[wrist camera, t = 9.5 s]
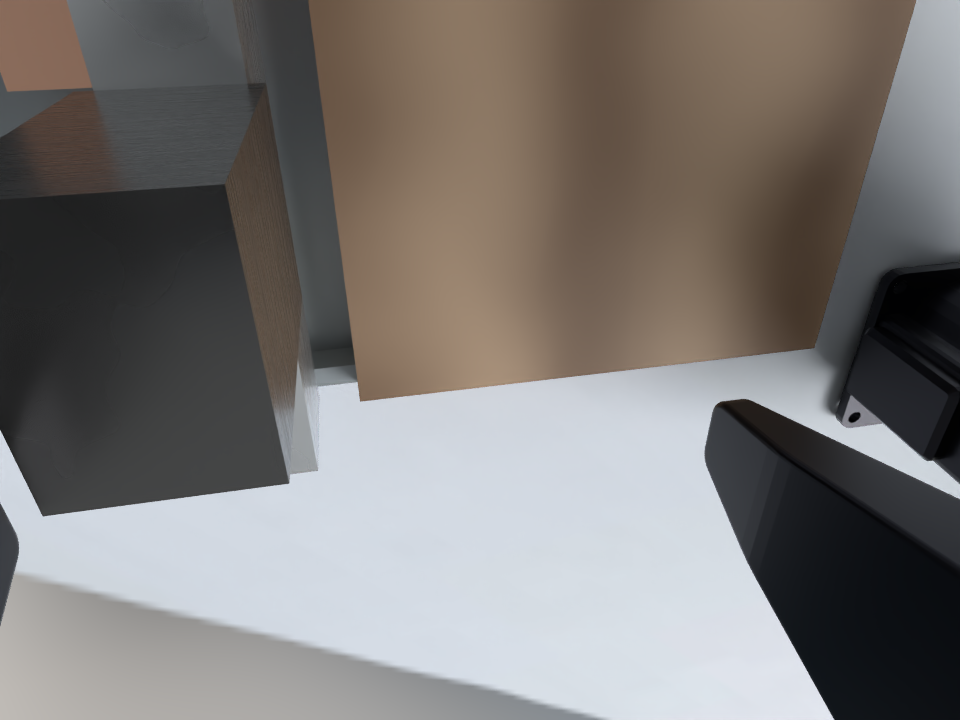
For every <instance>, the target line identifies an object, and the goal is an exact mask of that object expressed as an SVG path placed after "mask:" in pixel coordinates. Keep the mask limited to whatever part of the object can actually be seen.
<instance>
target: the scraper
mask: <svg viewBox="0 0 960 720" xmlns="http://www.w3.org/2000/svg"><path fill="white" fill-rule="evenodd" d="M67 4H68V7H69V11H70V14H71V17H72V21H73V24H74V27H75V31H76V34H77V37H78V41H79V44H80V47H81V51H82V54H83V57H84V61H85V64H86V68H87V71H88V74H89V78H90V81H91V84H92V88H93V91H77V92H72V93H71V94H69V95H67V96H66V97H64V98H63V99H61V100H59V101H58V102H56V103H55V104H53V105H51V106H50V107H48V108H47V109H45V110H44V111H42V112H40V113H39V114H37V115H36V116H34V117H32V118H31V119H29V120H28V121H26V122H25V123H23V124H21V125H20V126H18V127H17V128H15V129H13V130H12V131H10V132H9V133H7V134H5V135H4V136H2V137H1V138H0V430H1V432H2V434H3V436H4V438H5V440H6V442H7V444H8V446H9V448H10V450H11V453H12V455H13V457H14V459H15V461H16V463H17V465H18V467H19V469H20V471H21V473H22V475H23V477H24V479H25V481H26V483H27V485H28V487H29V489H30V491H31V493H32V495H33V497H34V499H35V501H36V503H37V505H38V508H39V510H40V512H41V514H42V516H49V515H56V514H64V513H71V512H79V511H86V510H94V509H101V508H109V507H116V506H124V505H131V504H139V503H146V502H154V501H161V500H169V499H176V498H184V497H191V496H199V495H206V494H214V493H221V492H229V491H236V490H244V489H251V488H259V487H266V486H274V485H281V484H289V480H290V474H296V473H304V472H311V471H318V447H319V393H318V387H317V381H316V375H315V369H314V363H313V357H312V351H311V345H310V339H309V333H308V327H307V321H306V315H305V310H304V304H303V298H302V292H301V286H300V280H299V274H298V268H297V262H296V256H295V250H294V244H293V238H292V232H291V227H290V221H289V215H288V209H287V203H286V197H285V191H284V185H283V179H282V173H281V167H280V161H279V155H278V150H277V144H276V138H275V132H274V126H273V120H272V114H271V108H270V102H269V96H268V90H267V84H266V78H265V72H264V67H263V61H262V55H261V49H260V43H259V37H258V31H257V25H256V19H255V13H254V7H253V1H252V0H67Z"/></svg>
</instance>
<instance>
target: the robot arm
mask: <svg viewBox="0 0 960 720" xmlns="http://www.w3.org/2000/svg"><path fill="white" fill-rule="evenodd" d="M897 283H898V284H897ZM896 284H897V285H896ZM895 285H896V286H895ZM894 286H895V287H894ZM836 418H837V420H838V421H839V422H840V423H841V424H842V425H843V426H845V427H846V428H853V427H860V426H867V425H874V424H882V423H883V424H884V425H885V426H887V427H888V428H889V429H890V430H891V431H892V432H893V433H895V434H896V435H897V436H898V437H899V438H900V439H901V440H902V441H904V442H905V443H906V444H907V445H908V446H909V447H910V448H911V449H913V450H914V451H915V452H916V453H917V454H918V455H919V456H921V457H922V458H923V459H924V460H926V461H932V460H933V461H934V462H935V463H936V464H937V465H939V466H940V467H941V468H942V469H943V470H944V471H945V472H947V473H948V474H949V475H950V476H951V477H952V478H953V479H955V480H956V481H957V482H958V483H959V484H960V262H959V263H949V264H939V265H929V266H919V267H909V268H899V269H894V270H891V271H890V272H888V273H886V274H885V276H884V277H883V278H882V279H881V281H880V283H879V286H878V289H877V292H876V295H875V298H874V301H873V304H872V307H871V310H870V313H869V316H868V319H867V322H866V325H865V328H864V331H863V334H862V337H861V340H860V343H859V346H858V349H857V352H856V355H855V358H854V361H853V364H852V367H851V370H850V373H849V376H848V379H847V382H846V385H845V388H844V391H843V394H842V397H841V400H840V403H839V406H838V409H837V412H836ZM705 462H706V466H707V468H708V471H709V473H710V476H711V478H712V480H713V483H714V485H715V488H716V490H717V492H718V495H719V497H720V499H721V502H722V504H723V507H724V509H725V511H726V514H727V516H728V518H729V521H730V523H731V526H732V528H733V530H734V533H735V535H736V538H737V540H738V542H739V545H740V547H741V549H742V551H743V554H744V556H745V558H746V560H747V562H748V564H749V566H750V568H751V570H752V572H753V574H754V576H755V578H756V580H757V581H758V583H759V585H760V587H761V589H762V590H763V592H764V594H765V596H766V598H767V599H768V601H769V603H770V605H771V607H772V608H773V610H774V612H775V614H776V616H777V617H778V619H779V621H780V623H781V625H782V626H783V628H784V630H785V632H786V634H787V635H788V637H789V639H790V641H791V643H792V644H793V646H794V648H795V650H796V652H797V653H798V655H799V657H800V659H801V661H802V662H803V664H804V666H805V668H806V670H807V671H808V673H809V675H810V677H811V679H812V680H813V682H814V684H815V686H816V688H817V689H818V691H819V693H820V695H821V697H822V698H823V700H824V702H825V704H826V706H827V707H828V709H829V711H830V713H831V715H832V716H833V718H834V720H960V499H958V498H956V497H954V496H952V495H950V494H947V493H945V492H943V491H941V490H939V489H937V488H935V487H933V486H931V485H928V484H926V483H924V482H922V481H920V480H918V479H916V478H914V477H911V476H909V475H907V474H905V473H903V472H901V471H899V470H897V469H895V468H892V467H890V466H888V465H886V464H884V463H882V462H880V461H878V460H875V459H873V458H871V457H869V456H867V455H865V454H863V453H861V452H859V451H856V450H854V449H852V448H850V447H848V446H846V445H844V444H842V443H840V442H837V441H835V440H833V439H831V438H829V437H827V436H825V435H823V434H820V433H818V432H816V431H814V430H812V429H810V428H808V427H806V426H804V425H801V424H799V423H797V422H795V421H793V420H791V419H789V418H787V417H784V416H782V415H780V414H778V413H776V412H774V411H772V410H770V409H768V408H765V407H763V406H761V405H759V404H757V403H755V402H753V401H751V400H747V399H739V400H731V401H722V402H720V403H718V404H717V405H716V406H715V408H714V410H713V413H712V417H711V422H710V427H709V432H708V436H707V441H706V446H705ZM18 554H19V542H18V538H17V535H16V532H15V531H14V529H13V527H12V525H11V523H10V521H9V519H8V517H7V515H6V513H5V511H4V509H3V507H2V505H1V504H0V625H1V621H2V617H3V613H4V609H5V606H6V602H7V598H8V594H9V590H10V586H11V582H12V579H13V575H14V571H15V567H16V563H17V559H18Z"/></svg>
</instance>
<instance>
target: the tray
mask: <svg viewBox="0 0 960 720" xmlns="http://www.w3.org/2000/svg"><path fill="white" fill-rule="evenodd" d="M252 1H253V7H254V13H255V19H256V25H257V31H258V37H259V43H260V49H261V55H262V61H263V67H264V72H265V78H266V84H267V90H268V96H269V102H270V108H271V114H272V120H273V126H274V132H275V138H276V144H277V150H278V155H279V161H280V167H281V173H282V179H283V185H284V191H285V197H286V203H287V209H288V215H289V221H290V227H291V232H292V238H293V244H294V250H295V256H296V262H297V268H298V274H299V280H300V286H301V292H302V298H303V304H304V310H305V315H306V321H307V327H308V333H309V339H310V345H311V351H312V357H313V363H314V369H315V375H316V381H317V387H318V386H327V385H335V384H344V383H353V382H358V381H357V373H356V365H355V358H354V350H353V342H352V334H351V327H350V319H349V311H348V304H347V296H346V288H345V281H344V273H343V265H342V257H341V250H340V242H339V234H338V227H337V219H336V211H335V204H334V196H333V188H332V180H331V173H330V165H329V157H328V150H327V142H326V134H325V126H324V119H323V111H322V103H321V96H320V88H319V80H318V73H317V65H316V57H315V49H314V42H313V34H312V26H311V19H310V11H309V3H308V0H252ZM77 91H93V88H76V89H54V90H32V91H10V92H7V89H6V86H5V84H4V81H3V78H2V75H1V73H0V138H1V137H2V136H4V135H5V134H7V133H9V132H10V131H12V130H13V129H15V128H17V127H18V126H20V125H21V124H23V123H25V122H26V121H28V120H29V119H31V118H32V117H34V116H36V115H37V114H39V113H40V112H42V111H44V110H45V109H47V108H48V107H50V106H51V105H53V104H55V103H56V102H58V101H59V100H61V99H63V98H64V97H66V96H67V95H69V94H71V93H72V92H77Z"/></svg>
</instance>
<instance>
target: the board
mask: <svg viewBox="0 0 960 720" xmlns="http://www.w3.org/2000/svg"><path fill="white" fill-rule="evenodd" d="M308 3H309V11H310V19H311V26H312V34H313V42H314V49H315V57H316V65H317V73H318V80H319V88H320V96H321V103H322V111H323V119H324V126H325V134H326V142H327V150H328V157H329V165H330V173H331V180H332V188H333V196H334V204H335V211H336V219H337V227H338V234H339V242H340V250H341V257H342V265H343V273H344V281H345V288H346V296H347V304H348V311H349V319H350V327H351V334H352V342H353V350H354V358H355V365H356V373H357V381H358V388H359V396H360V401H369V400H377V399H386V398H394V397H403V396H411V395H420V394H428V393H437V392H445V391H454V390H462V389H471V388H479V387H488V386H496V385H505V384H513V383H522V382H530V381H539V380H547V379H556V378H564V377H573V376H581V375H590V374H598V373H607V372H615V371H624V370H632V369H641V368H649V367H658V366H667V365H675V364H684V363H692V362H701V361H709V360H718V359H726V358H735V357H743V356H752V355H760V354H769V353H777V352H786V351H794V350H803V349H811V348H814V347H815V344H816V340H817V337H818V334H819V330H820V327H821V323H822V320H823V317H824V313H825V310H826V306H827V303H828V300H829V296H830V293H831V289H832V286H833V283H834V279H835V276H836V272H837V269H838V266H839V262H840V259H841V255H842V252H843V249H844V245H845V242H846V238H847V235H848V232H849V228H850V225H851V221H852V218H853V215H854V211H855V208H856V204H857V201H858V197H859V194H860V191H861V187H862V184H863V180H864V177H865V174H866V170H867V167H868V163H869V160H870V157H871V153H872V150H873V146H874V143H875V140H876V136H877V133H878V129H879V126H880V123H881V119H882V116H883V112H884V109H885V106H886V102H887V99H888V95H889V92H890V89H891V85H892V82H893V78H894V75H895V72H896V68H897V65H898V61H899V58H900V54H901V51H902V48H903V44H904V41H905V37H906V34H907V31H908V27H909V24H910V20H911V17H912V14H913V10H914V7H915V3H916V0H308Z"/></svg>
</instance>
